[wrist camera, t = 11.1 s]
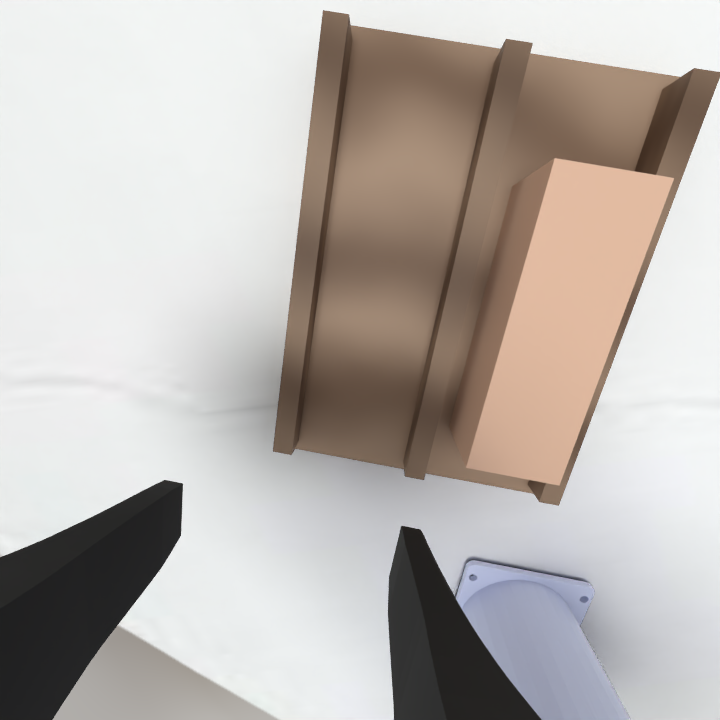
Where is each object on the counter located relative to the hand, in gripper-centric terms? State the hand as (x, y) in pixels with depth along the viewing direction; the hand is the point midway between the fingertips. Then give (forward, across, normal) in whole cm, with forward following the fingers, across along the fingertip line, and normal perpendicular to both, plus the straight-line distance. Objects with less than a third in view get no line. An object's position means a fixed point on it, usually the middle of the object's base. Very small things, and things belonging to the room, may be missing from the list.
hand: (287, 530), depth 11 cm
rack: (+9, -5, -8) cm, 13 cm away
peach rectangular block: (+8, -8, -7) cm, 14 cm away
